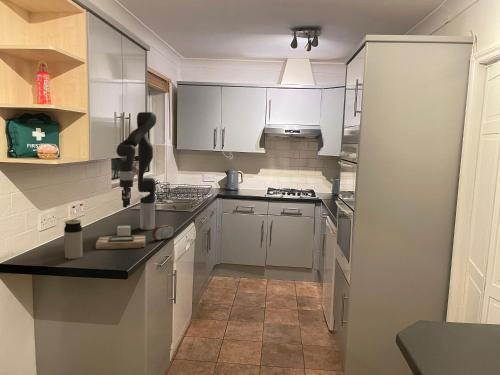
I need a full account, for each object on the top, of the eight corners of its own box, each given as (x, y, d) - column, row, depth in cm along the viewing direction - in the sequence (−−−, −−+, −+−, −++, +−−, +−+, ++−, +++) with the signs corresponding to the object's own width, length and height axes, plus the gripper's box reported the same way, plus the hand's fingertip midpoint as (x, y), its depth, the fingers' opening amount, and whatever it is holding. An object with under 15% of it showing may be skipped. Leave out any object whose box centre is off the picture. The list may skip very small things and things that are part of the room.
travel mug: (85, 254, 197) (84, 219, 195) (78, 259, 190) (77, 223, 187) (69, 254, 197) (68, 219, 195) (62, 259, 189) (61, 222, 187)
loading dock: (99, 241, 222) (99, 234, 221) (145, 240, 228) (145, 233, 227) (95, 249, 207) (95, 241, 207) (144, 247, 213) (144, 240, 213)
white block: (118, 236, 234) (118, 225, 233) (130, 236, 235) (130, 225, 234) (117, 238, 229) (117, 227, 228) (129, 238, 230) (129, 227, 230)
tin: (172, 236, 239) (172, 222, 238) (175, 237, 237) (175, 223, 236) (151, 240, 228) (151, 226, 227) (155, 241, 226) (155, 227, 225)
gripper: (122, 178, 236) (122, 204, 237) (116, 179, 222) (117, 208, 223) (135, 178, 237) (135, 204, 238) (130, 180, 223) (130, 208, 224)
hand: (126, 206), depth 231 cm, fingers open, 8 cm apart
